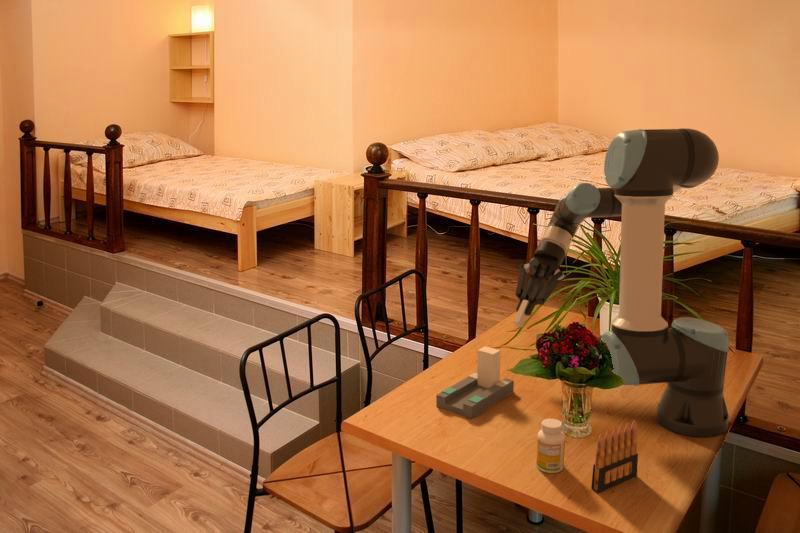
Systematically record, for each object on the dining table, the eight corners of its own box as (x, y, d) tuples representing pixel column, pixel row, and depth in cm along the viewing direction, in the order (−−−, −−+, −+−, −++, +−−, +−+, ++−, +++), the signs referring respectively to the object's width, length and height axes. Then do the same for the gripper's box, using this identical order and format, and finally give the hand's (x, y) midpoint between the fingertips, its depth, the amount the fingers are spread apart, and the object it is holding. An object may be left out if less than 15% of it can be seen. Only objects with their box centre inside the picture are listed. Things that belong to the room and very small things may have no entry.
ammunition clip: (629, 472, 152) (634, 417, 149) (637, 476, 150) (641, 420, 147) (590, 488, 146) (594, 431, 143) (598, 493, 145) (601, 435, 142)
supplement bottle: (547, 457, 158) (549, 414, 155) (569, 466, 154) (571, 422, 151) (530, 466, 154) (532, 422, 152) (552, 477, 151) (554, 432, 148)
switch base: (479, 381, 194) (479, 369, 193) (513, 391, 188) (513, 379, 187) (436, 406, 181) (436, 393, 180) (471, 418, 175) (471, 405, 174)
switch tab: (484, 380, 191) (485, 346, 188) (499, 385, 188) (500, 350, 185) (477, 385, 188) (477, 350, 186) (492, 389, 185) (493, 354, 183)
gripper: (579, 259, 202) (545, 337, 194) (536, 251, 210) (501, 325, 202) (571, 243, 196) (535, 323, 189) (526, 236, 204) (490, 312, 197)
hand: (517, 324), depth 195 cm, fingers closed
